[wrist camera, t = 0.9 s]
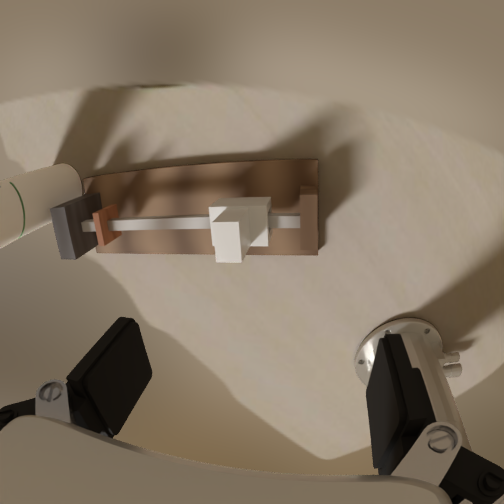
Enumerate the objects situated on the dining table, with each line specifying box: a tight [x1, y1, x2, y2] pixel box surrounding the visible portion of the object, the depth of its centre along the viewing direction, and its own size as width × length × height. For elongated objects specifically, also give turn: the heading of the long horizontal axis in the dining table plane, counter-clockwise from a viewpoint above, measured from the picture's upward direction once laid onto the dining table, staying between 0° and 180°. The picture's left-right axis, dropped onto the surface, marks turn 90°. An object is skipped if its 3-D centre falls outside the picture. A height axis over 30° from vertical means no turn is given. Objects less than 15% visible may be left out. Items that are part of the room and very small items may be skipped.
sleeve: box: [209, 197, 273, 263], centre depth 27 cm, size 5×4×8 cm
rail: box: [50, 159, 318, 260], centre depth 31 cm, size 28×10×8 cm, turn 94°
